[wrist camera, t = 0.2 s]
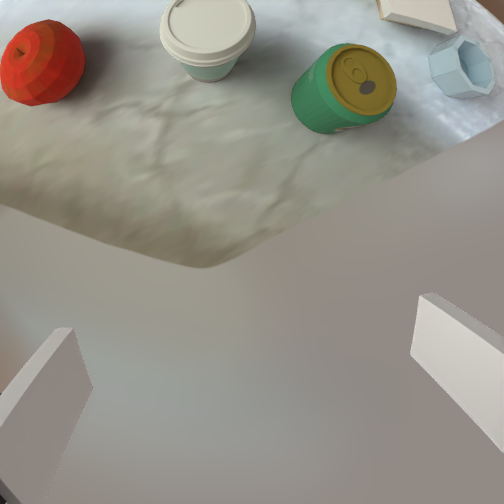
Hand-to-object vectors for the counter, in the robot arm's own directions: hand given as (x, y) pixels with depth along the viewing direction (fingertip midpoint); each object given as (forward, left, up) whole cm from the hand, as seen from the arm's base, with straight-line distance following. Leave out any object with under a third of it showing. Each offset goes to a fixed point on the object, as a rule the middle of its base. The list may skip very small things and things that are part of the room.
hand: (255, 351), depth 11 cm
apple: (-22, -20, -28) cm, 41 cm away
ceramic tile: (-31, +26, -24) cm, 47 cm away
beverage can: (-14, +12, -28) cm, 34 cm away
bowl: (-21, +34, -28) cm, 49 cm away
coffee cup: (-20, -1, -28) cm, 34 cm away
